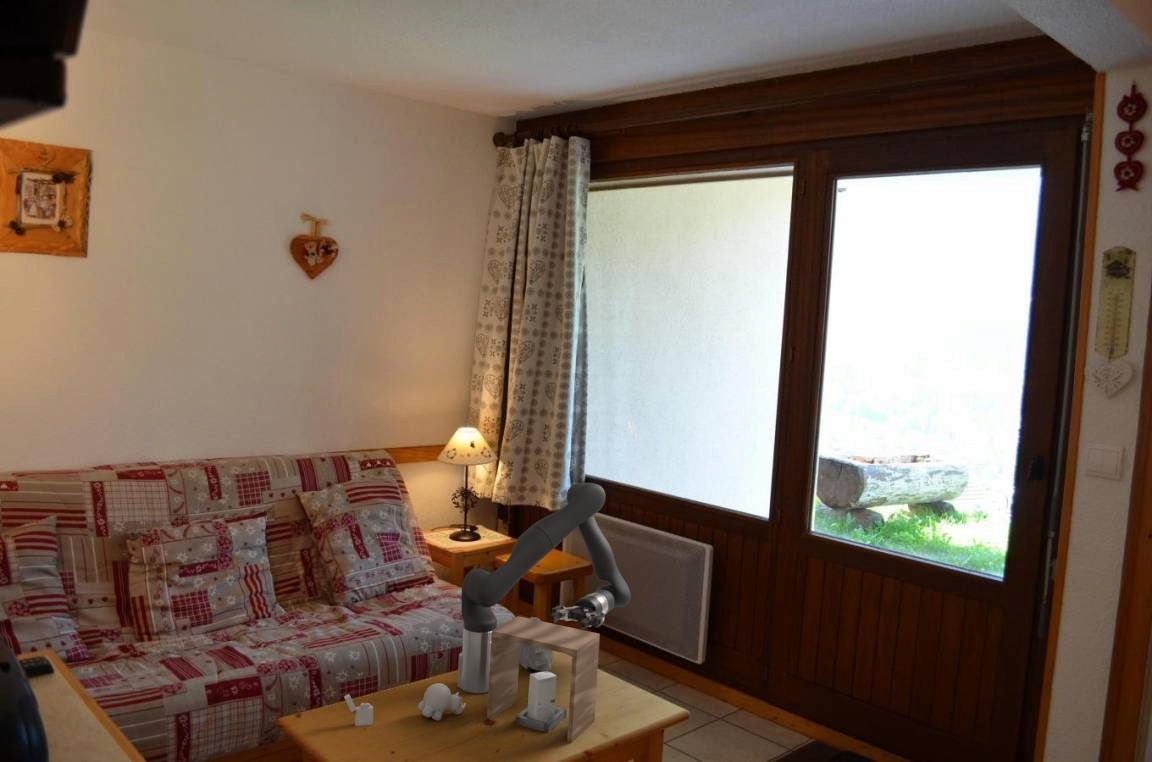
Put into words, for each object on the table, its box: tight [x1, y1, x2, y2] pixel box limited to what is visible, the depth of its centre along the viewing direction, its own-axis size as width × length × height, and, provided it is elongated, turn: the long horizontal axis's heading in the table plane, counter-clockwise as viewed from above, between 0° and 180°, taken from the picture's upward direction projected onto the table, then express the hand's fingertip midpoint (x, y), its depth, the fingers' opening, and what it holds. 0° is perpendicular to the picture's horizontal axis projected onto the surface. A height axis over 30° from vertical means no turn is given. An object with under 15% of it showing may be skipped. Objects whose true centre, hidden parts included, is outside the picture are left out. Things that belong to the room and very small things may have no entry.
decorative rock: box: [519, 616, 554, 672], centre depth 268 cm, size 16×7×15 cm, turn 31°
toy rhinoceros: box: [417, 682, 467, 721], centre depth 232 cm, size 7×12×8 cm, turn 114°
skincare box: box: [527, 671, 557, 722], centre depth 233 cm, size 6×4×12 cm
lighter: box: [343, 693, 374, 727], centre depth 224 cm, size 7×2×8 cm, turn 113°
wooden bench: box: [486, 615, 601, 744], centre depth 232 cm, size 24×14×24 cm, turn 65°
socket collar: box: [514, 706, 567, 734], centre depth 233 cm, size 9×11×2 cm
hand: (567, 622), depth 243 cm, fingers open, 8 cm apart
